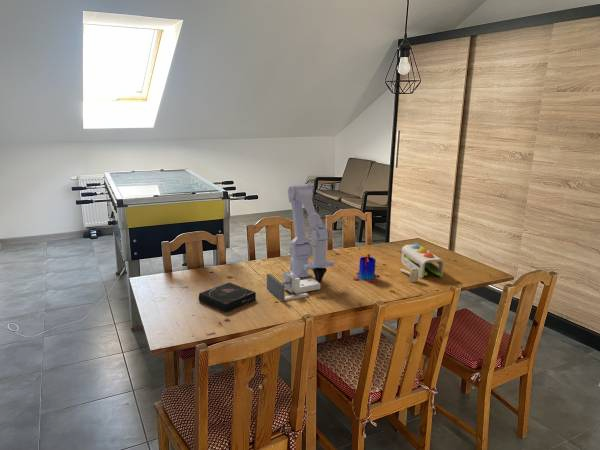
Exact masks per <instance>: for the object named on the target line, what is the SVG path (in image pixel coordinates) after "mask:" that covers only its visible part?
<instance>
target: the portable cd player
mask: <svg viewBox="0 0 600 450" xmlns="http://www.w3.org/2000/svg"><path fill="white" fill-rule="evenodd" d="M256 293H257V292H255V291H253V290H251V289H247V288H245V287H243V286H240V285H238V284H234V283H232V282H226V283H224V284H221V285H218V286H216V287H213V288H209V289H208V290H204V291H202V292H199V294H198V302H200V303H202V304H205V305H207V306H210V307H212V308H214V309H216V310H219V311H221V312H224V313H225V314H227V313H229V312H231V311H234V310H236V309H239V308H241V307H243V306H246V305H247V304H250V303H253V302H255V301H257V298H256V296H257V295H256Z"/></svg>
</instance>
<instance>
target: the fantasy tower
mask: <svg viewBox="0 0 600 450" xmlns="http://www.w3.org/2000/svg"><path fill="white" fill-rule="evenodd" d="M358 266H359V267H358V269H359V270H358V271H357V272H356V275H357V276H356V277H354V278H353V279H352V280H353V281H355V282H359V281H360V282H366V283H371V284H377V283H378V282H377V280H378V279H377V278H380V276H381V275H379V274H377V273H375V272H376V258H374V257H371V254H370V253H367V256H362V257H360V258H359V265H358Z"/></svg>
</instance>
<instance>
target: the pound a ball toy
mask: <svg viewBox="0 0 600 450" xmlns="http://www.w3.org/2000/svg"><path fill="white" fill-rule="evenodd" d="M406 256H407V257H406ZM400 258H401V264H402V265H404V266H405V267H406V268H407V269H408V270H409V271H408V270H406V269H404V268H400V270H399V271H400V272H401V273H404V274H406V275H409V280H410V282H411V283H417V282H418V280H419V278H421V279H424V276H428V271H429V272H431V273H432V274H435V275H436V276H438V277H439V278H442V277H443V276H444V275H443V274H444V268H445V262H444V260H443V259H441V258H440V257H438V256H437V255H435V254H433V252H431V251H429V250H428V249H427V248H425V247H423V246H421V245H420V244H418V243H414V244H405V245H404V246H402V248H401V257H400ZM435 263H437V264H438V265H436V264H435ZM425 269H426V270H428V271H426V270H425Z"/></svg>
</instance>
